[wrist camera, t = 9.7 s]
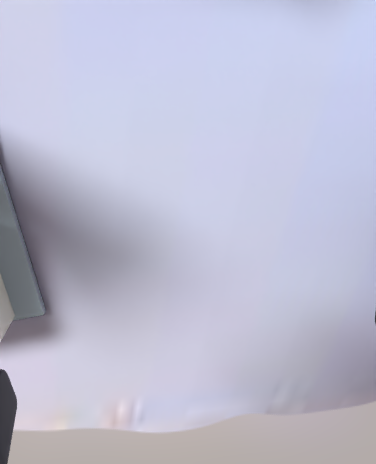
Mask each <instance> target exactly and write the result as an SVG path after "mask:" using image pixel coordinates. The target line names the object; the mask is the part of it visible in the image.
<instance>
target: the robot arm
mask: <svg viewBox="0 0 376 464" xmlns="http://www.w3.org/2000/svg"><path fill="white" fill-rule="evenodd" d="M375 323H376V313H375ZM16 410H17V399H16V395H15V392H14V390H13V387H12V385H11V382H10V379H9V377H8V374H7V373H6V371H5V370H2V369H0V464H7V463H8V456H9V451H10V445H11V439H12V433H13V427H14V421H15V416H16Z"/></svg>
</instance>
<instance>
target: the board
mask: <svg viewBox="0 0 376 464" xmlns="http://www.w3.org/2000/svg"><path fill="white" fill-rule="evenodd" d="M45 311H46V309H45V306H44V303H43V300H42V297H41V293H40V290H39V287H38V284H37V280H36V277H35V274H34V271H33V268H32V264H31V261H30V258H29V255H28V252H27V248H26V245H25V242H24V239H23V235H22V232H21V229H20V226H19V223H18V219H17V216H16V213H15V210H14V207H13V203H12V200H11V197H10V194H9V190H8V187H7V184H6V181H5V178H4V174H3V171H2V168H1V165H0V342H1V340H2V339H3V337H4V335H5V333H6V331H7V329H8V328H9V326H10V324H11V322H12V321H14V320H19V319H25V318H30V317H36V316H41V315H44V314H45Z"/></svg>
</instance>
